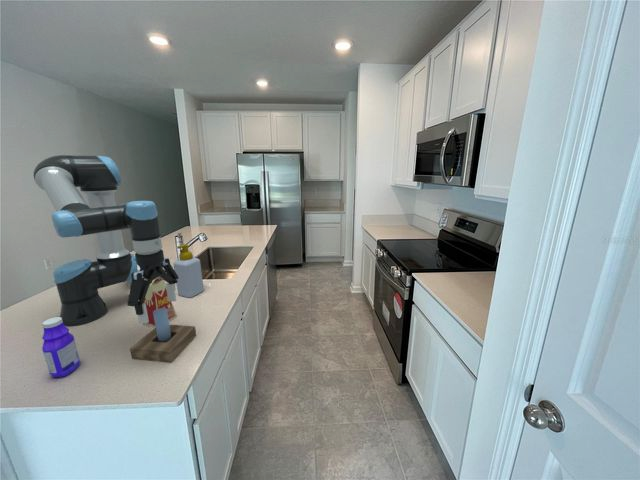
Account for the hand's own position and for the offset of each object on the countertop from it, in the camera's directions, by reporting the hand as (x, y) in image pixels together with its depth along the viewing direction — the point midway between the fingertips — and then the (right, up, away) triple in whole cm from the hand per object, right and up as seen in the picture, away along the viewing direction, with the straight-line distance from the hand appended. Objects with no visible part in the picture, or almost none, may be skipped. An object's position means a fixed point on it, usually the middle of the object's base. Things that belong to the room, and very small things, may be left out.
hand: (159, 310), depth 89 cm
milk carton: (-12, -9, +19) cm, 25 cm away
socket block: (0, -14, +3) cm, 14 cm away
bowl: (-42, +1, +55) cm, 69 cm away
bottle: (-24, -17, -7) cm, 30 cm away
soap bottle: (-10, -3, +43) cm, 44 cm away
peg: (0, -14, +3) cm, 14 cm away
